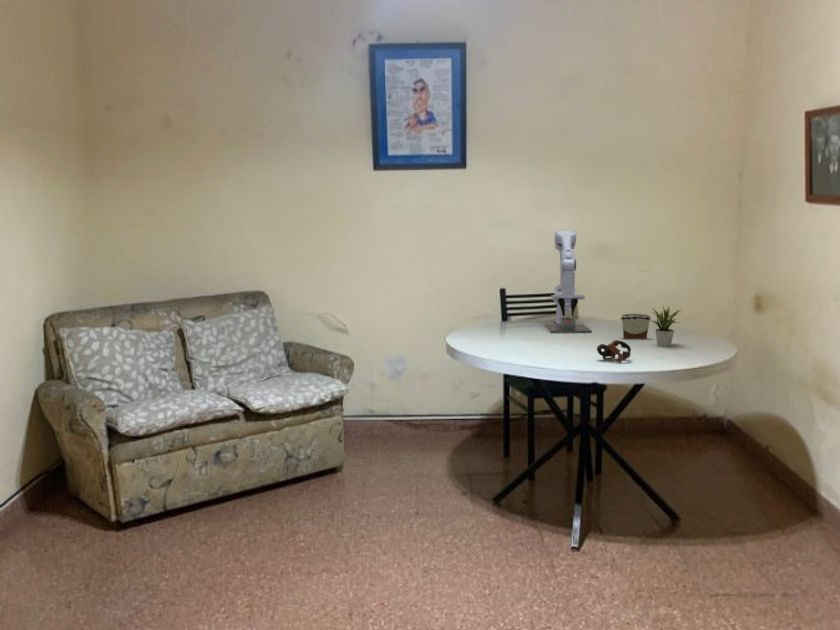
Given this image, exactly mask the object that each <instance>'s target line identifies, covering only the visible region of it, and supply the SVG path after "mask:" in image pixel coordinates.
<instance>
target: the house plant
mask: <svg viewBox="0 0 840 630" xmlns="http://www.w3.org/2000/svg"><path fill="white" fill-rule="evenodd" d="M662 309H663V310H662V311H661V312H660V313H659V312H658V311H657V310H656V309H654V308H652V311H654V316H655V317H656V320H651V321H650V320H649V323H650V322H652V323H654V324H655V325H657V327H658V328H656V329H655V336H656V337H655V338H656V344H657V346H658V345H659V346H658V347H664V346H668V347H671V346H672V343H673V342H672V341H673V336H674V332H675V330H674V329H672V328H671V325H672V324H674V325H675V324H676V323H678V324H680V322H683V320H681V321H680V320H679V321H678V322H677V321H676V318H675V316H677V315H678V316H679V315H681V314H680V312H681V309H679V310H676V311H675V312H673V313H672V314H671V315H670V305H668V306H667V309H665V306H664V304H662ZM674 318H675V319H674ZM674 325H672V327H673V326H674ZM670 345H671V346H670Z"/></svg>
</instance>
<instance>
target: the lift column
mask: <svg viewBox="0 0 840 630" xmlns="http://www.w3.org/2000/svg"><path fill="white" fill-rule="evenodd" d="M564 310H565V316H564V318H563V319H567V318H571V319H572V318H573V316H572V309H571V308H564Z"/></svg>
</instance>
